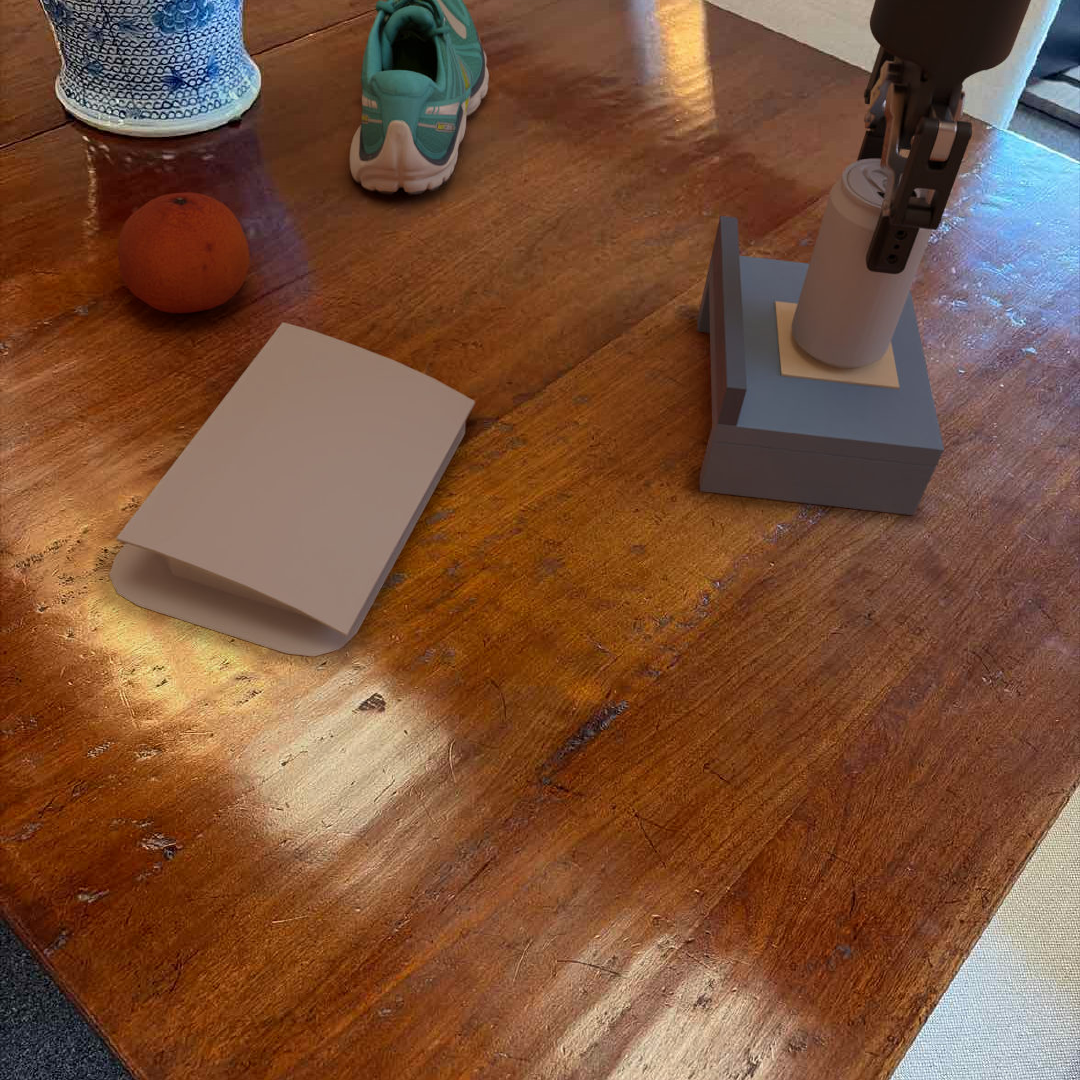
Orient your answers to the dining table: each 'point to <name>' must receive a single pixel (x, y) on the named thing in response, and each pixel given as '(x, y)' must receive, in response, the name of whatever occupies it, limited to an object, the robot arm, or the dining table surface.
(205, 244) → the fruit
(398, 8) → the running shoe
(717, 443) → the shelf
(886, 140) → the robot arm
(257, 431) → the book
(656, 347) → the dining table surface
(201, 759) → the dining table surface
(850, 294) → the beverage can
